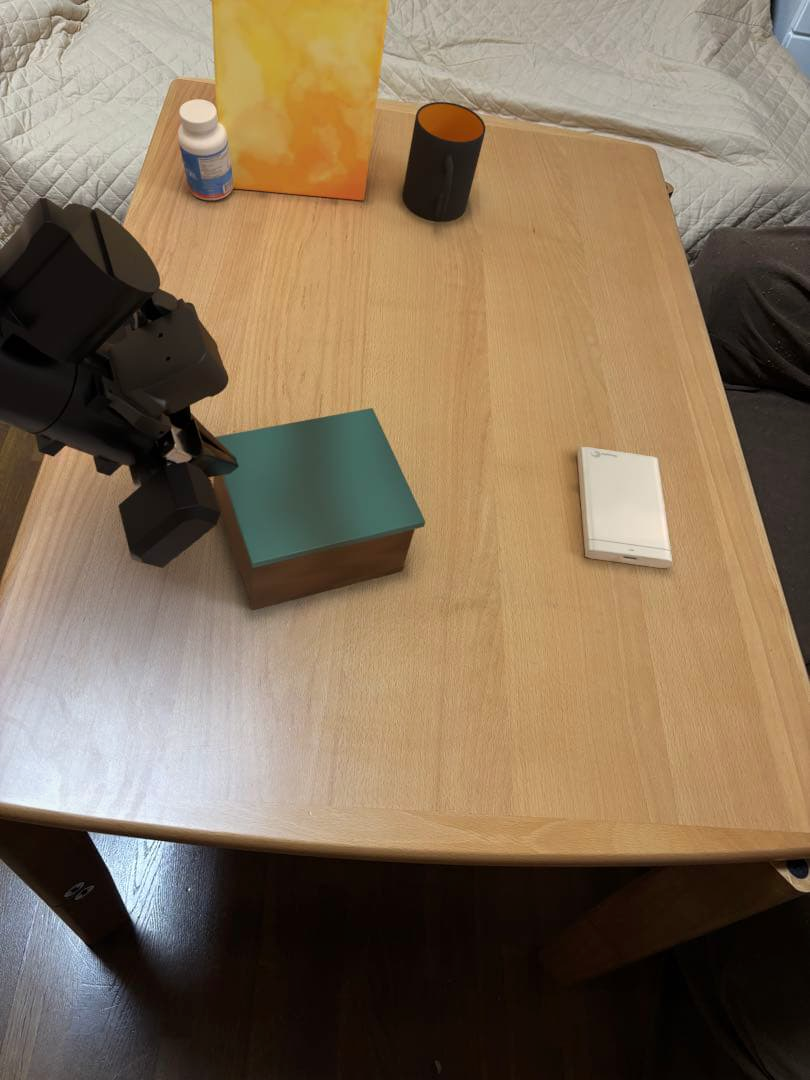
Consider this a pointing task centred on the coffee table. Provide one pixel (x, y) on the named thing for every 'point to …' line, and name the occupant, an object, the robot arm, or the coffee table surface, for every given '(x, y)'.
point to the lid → (316, 486)
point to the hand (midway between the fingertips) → (233, 466)
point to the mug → (442, 160)
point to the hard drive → (623, 508)
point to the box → (311, 563)
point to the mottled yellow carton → (299, 92)
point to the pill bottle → (205, 151)
